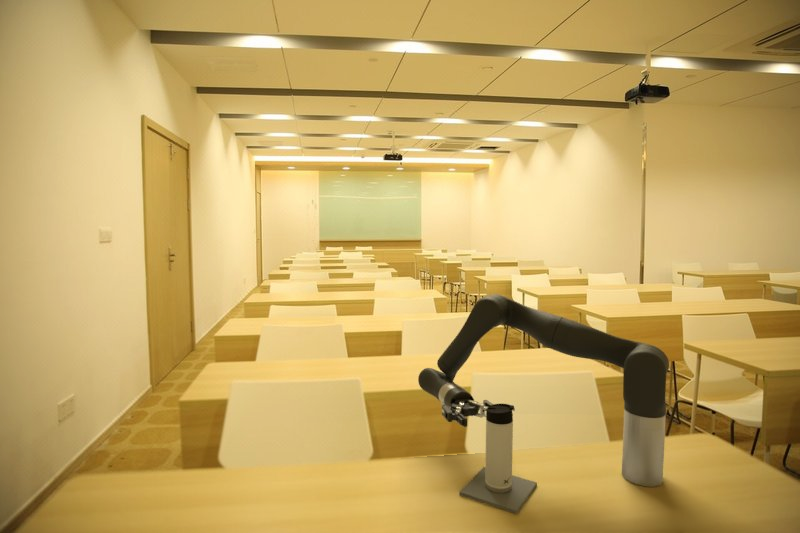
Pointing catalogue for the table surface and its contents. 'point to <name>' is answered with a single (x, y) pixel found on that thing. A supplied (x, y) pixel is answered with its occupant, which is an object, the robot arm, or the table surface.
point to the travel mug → (499, 447)
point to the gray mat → (504, 501)
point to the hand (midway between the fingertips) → (481, 421)
